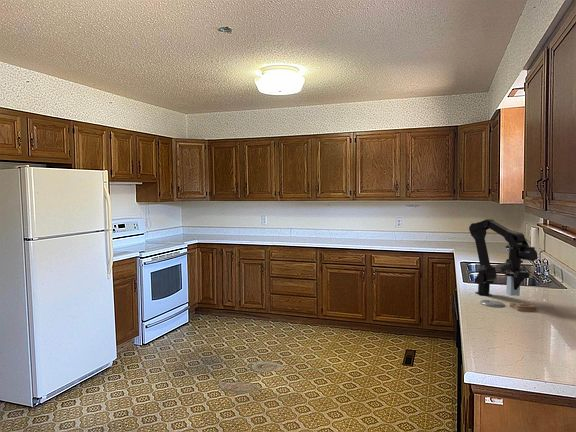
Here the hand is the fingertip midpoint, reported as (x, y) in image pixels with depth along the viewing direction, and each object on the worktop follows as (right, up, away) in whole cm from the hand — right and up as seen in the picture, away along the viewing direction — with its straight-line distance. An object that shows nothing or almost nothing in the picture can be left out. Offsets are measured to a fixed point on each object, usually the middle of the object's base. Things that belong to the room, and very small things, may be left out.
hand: (513, 288), depth 225 cm
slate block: (0, -3, 0) cm, 3 cm away
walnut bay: (0, -8, -9) cm, 12 cm away
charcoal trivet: (-12, -7, -2) cm, 14 cm away
